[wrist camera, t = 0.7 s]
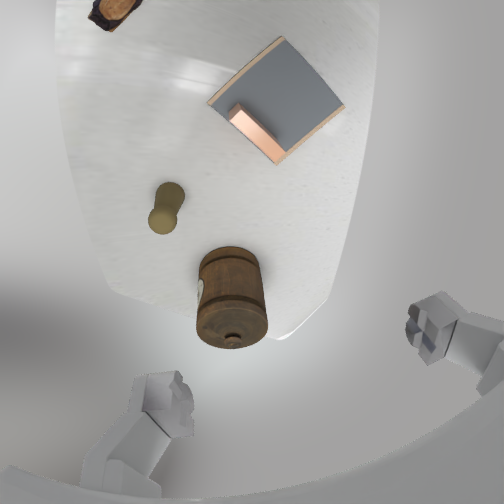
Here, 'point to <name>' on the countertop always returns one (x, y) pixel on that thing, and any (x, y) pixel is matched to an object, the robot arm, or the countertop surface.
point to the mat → (280, 96)
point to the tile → (256, 132)
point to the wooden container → (230, 299)
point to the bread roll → (112, 12)
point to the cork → (166, 208)
